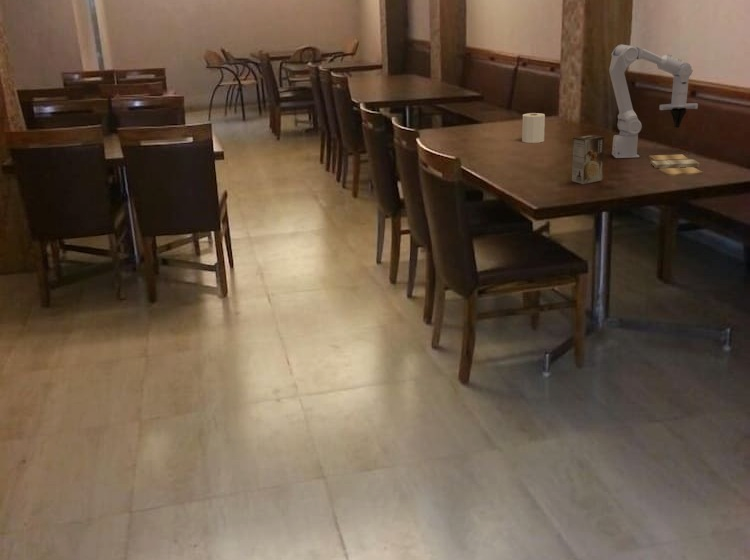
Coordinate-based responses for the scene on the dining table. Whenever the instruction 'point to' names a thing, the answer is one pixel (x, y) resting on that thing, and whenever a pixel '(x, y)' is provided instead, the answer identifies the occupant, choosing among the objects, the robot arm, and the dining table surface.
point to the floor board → (675, 163)
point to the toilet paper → (533, 127)
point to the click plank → (666, 157)
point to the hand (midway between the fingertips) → (676, 127)
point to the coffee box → (587, 159)
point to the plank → (680, 171)
